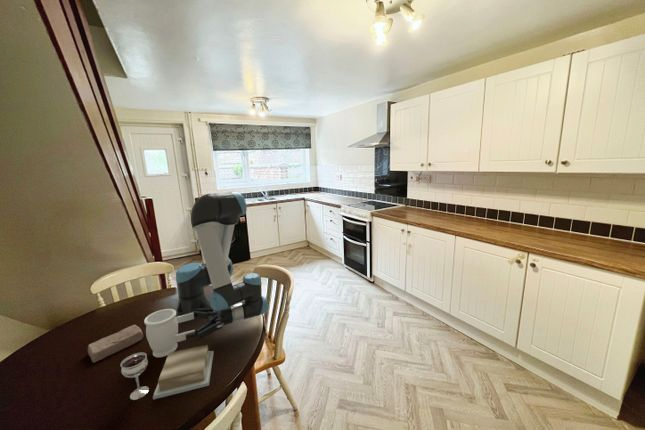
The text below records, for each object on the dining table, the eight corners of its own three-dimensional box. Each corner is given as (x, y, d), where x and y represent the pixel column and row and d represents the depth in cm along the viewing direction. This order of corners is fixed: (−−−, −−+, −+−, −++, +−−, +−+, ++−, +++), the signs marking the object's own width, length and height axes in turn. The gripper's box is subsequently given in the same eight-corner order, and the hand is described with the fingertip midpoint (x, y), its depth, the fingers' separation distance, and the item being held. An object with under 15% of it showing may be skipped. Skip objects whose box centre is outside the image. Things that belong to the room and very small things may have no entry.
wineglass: (126, 390, 82) (120, 358, 80) (151, 380, 86) (146, 349, 84) (125, 406, 77) (119, 372, 74) (152, 394, 80) (147, 361, 78)
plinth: (170, 362, 93) (169, 352, 92) (208, 354, 96) (207, 344, 96) (159, 391, 80) (158, 380, 80) (204, 380, 84) (203, 370, 84)
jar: (170, 338, 107) (165, 306, 105) (186, 345, 103) (182, 311, 100) (143, 354, 98) (137, 319, 95) (160, 363, 93) (154, 326, 91)
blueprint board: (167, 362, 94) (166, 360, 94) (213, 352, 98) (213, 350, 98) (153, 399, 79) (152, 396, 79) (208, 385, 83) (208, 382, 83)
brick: (93, 364, 94) (91, 352, 93) (87, 354, 99) (85, 344, 98) (144, 340, 107) (143, 330, 107) (137, 332, 112) (135, 323, 111)
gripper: (237, 337, 100) (176, 357, 90) (228, 308, 122) (177, 321, 112) (236, 320, 99) (173, 338, 89) (226, 293, 120) (175, 305, 110)
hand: (175, 328), depth 100 cm, fingers open, 13 cm apart
